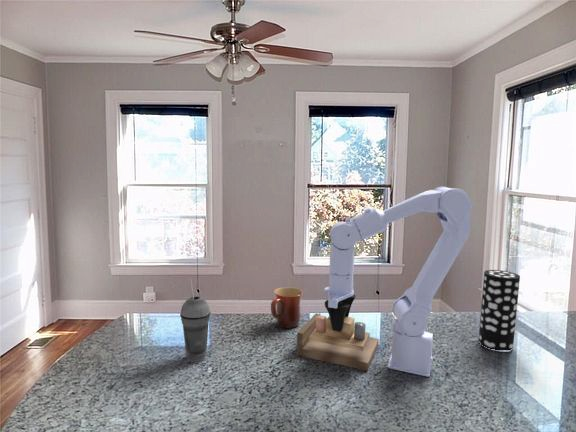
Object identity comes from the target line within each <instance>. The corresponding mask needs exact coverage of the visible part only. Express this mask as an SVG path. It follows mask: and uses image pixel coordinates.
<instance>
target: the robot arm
mask: <svg viewBox="0 0 576 432" xmlns="http://www.w3.org/2000/svg"><path fill="white" fill-rule="evenodd" d="M473 208H474V205H473V204H472V201H471V199H470V197H469V195H468V194H467V192H465V190H463V189H461V188H451V187H447V186H438V187H435V188H434V189H430V190H426V191H423V192H421V193H418V194H415V195H414V196H412V197H409V198H408V199H405V200H402V202H401V201H400V202H399V203H397V204H395V205H393V206H391V207H388V208H385V209H384V210H380V209H378V208H373V209H371V208H369V207H368V208H366V209H364V212H363V213H360V214H358V215H355V216H353V217H352V218H351V217H346V218H345V221H338V222H336V223H334V224H333V225H332V227H331V229H330V231H329V234H328V235H329V238H330V240H331V245H330V253H329V273H328V274H329V275H328V279H329V280H328V281H329V282H328V286H327V287H325V288H324V290H323V292H324V293H327V294H328V299H326V300H325V301H324V307H325V309H326V310H327V312H328V313H327V314H328V317H329V316H330V320H331V325H332V329H333V330H334V331H339V332H341V331H342V328H343V323H344V318H345V316H346V317H350V316H349V315H350V311H351V307H352V305H353V302H354V300H355V299H356V296H357V295H356V294H354V293H355V291H354V270H355V269H354V267H355V254H354V247H355V245H356V243H357V242H361V241H364V240H367V239H368V238H370V237H373V236H376V235H377V234H380V233H383V232H385V231H386V229H387V226H388V225H389V224H391V223H394V222H396V221H398V220H399V221H400V220H401V219H404V218H406V217H410V216H412V215H415V214H418V213H421V212H425V213H433V214H435V215H436V216H437V217H438V219H439V221H440V223H441V226H442V229H443V231H442V233H441V235H440V236H439V238H438V240H437V242H436V243H435V245H434V247H433V249H432V251H431V252H430V254H429V256H428V257H427V259H426V261H425V263H424V264H423V266H422V268H421V270H420V272H419V273H418V275H417V276H416V279H415V281H414V282H413V284H412V286H410V287H409V288H408V289H406V290H404V292H403V294H402V295H401V296H400V297H399V298H398V299H396V300H395V301H394V302H393V304H392V308H391V309H392V313H393V316H394V317H395V318H396V319H395V322H394V323H393V326H392V343H391V355H390V357H389V359H388V364H387V368H388V369H390V370H396V371H398V372H399V371H400V372H405V373H408V374H409V373H410V374H414V375H418V376H423V377H430V375H431V369H432V365H433V362H434V360H433V359H434V357H433V356H432V354H433V343H434V342H433V341H434V339H433V338H434V334H433V332H429V331H426V330H427V328H428V325H429V317H430V315H431V313H432V308H433V306H432V304H433V302H432V301H433V298H434V296H435V295H436V293H437V291H438V290H439V288H440V286H441V285H442V283H443V281H444V280H445V279H446V276H447V274H448V273H449V271H450V269H451V268H452V266H453V264H454V262H455V260H456V259H457V258H458V255H459V254H460V252H461V251H462V249H463V247H464V245H465V244H466V242H467V241H468V239H469V236H470V234H471V223H472V222H471V218H472V217H471V213H472V210H473Z"/></svg>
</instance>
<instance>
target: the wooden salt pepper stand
mask: <svg viewBox="0 0 576 432" xmlns="http://www.w3.org/2000/svg"><path fill="white" fill-rule="evenodd" d="M355 319H356V318H355V317H351V316H348V317H346V316H345V318H344V323H343V328H342V331H341V332H339V331H334V330H333V329H332V325H331V320H330V316H329V315H328V317H327V316H326V315H320V316H317V317H316V329H315V330H314V331H313V332H312V333H311V335H310V336H309V340H311V341H316V342H321V343H326V344H331V345H336V346H341V347H346V348H351V349H356V350H361V351H363V350H364V347H365V345H366V343H367V341H368V339H369V337H371V336H370V335H371V333H370V332H367V331H366V323H365V322H363V321H362V322H361V321H355Z"/></svg>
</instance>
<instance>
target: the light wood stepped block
mask: <svg viewBox="0 0 576 432" xmlns="http://www.w3.org/2000/svg"><path fill="white" fill-rule="evenodd" d="M320 315H321V313H314V315H312V316H311V318H309V320H308V321H307V322H305V324H304V325H303V326H302V327H301V328H300V329H299V330H298V331H297V332H296V333H297V334H296V356H299V357H303V358H307V359H308V358H309V359H313V360H317V361H321V360H322V362H325V361H327V362H326V363H330V362H332V363H331V364H334V363H337V364H336V365H339V364H342V365H341V366H343V365H346V366H345V367H348V366H350V367H349V368H352V367H354V369H356V368H359V369H358V370H361V369H362V371H365V370H367V371H366V372H368V371H369V369H370V367H371V365H372V362H373V360H374V358H375V355H376V353H377V350H378V347H379V342H380V341H379V340H380V339H379V338H375V337H371V336H370V337H369V339H368V341H367V343H366V345H365V347H364V350H363V351H361V350H356V349H351V348H346V347H341V346H336V345H331V344H326V343H321V342H316V341H311V340H309V336H310V335H311V333H312V332H313V331H314V330H315V329H316V317H317V316H320Z"/></svg>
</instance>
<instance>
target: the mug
mask: <svg viewBox="0 0 576 432" xmlns="http://www.w3.org/2000/svg"><path fill="white" fill-rule="evenodd" d="M273 294H274V299H272V301H271V303H270V311H271V316H272V317H273V318H275V321H276V324H277V326H279V327H281V328H284V329H293V328H296V327H298V326H299V324H300V321H301V300H302V298H303V295H304V292H303V290H302V289H300V288H297V287H294V286H293V287H292V286H290V287H289V286H288V287H287V286H285V287H278V288H276V289H274V290H273Z"/></svg>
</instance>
